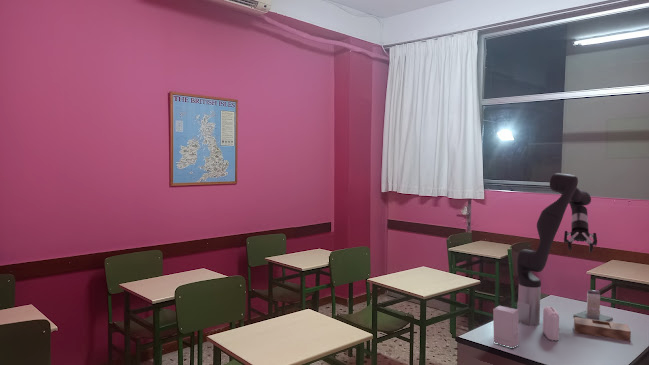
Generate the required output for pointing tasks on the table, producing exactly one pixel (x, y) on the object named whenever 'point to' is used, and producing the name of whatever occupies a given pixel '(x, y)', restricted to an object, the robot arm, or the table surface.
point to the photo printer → (551, 323)
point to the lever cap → (593, 304)
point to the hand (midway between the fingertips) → (580, 250)
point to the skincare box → (506, 326)
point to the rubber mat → (602, 318)
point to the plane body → (602, 328)
